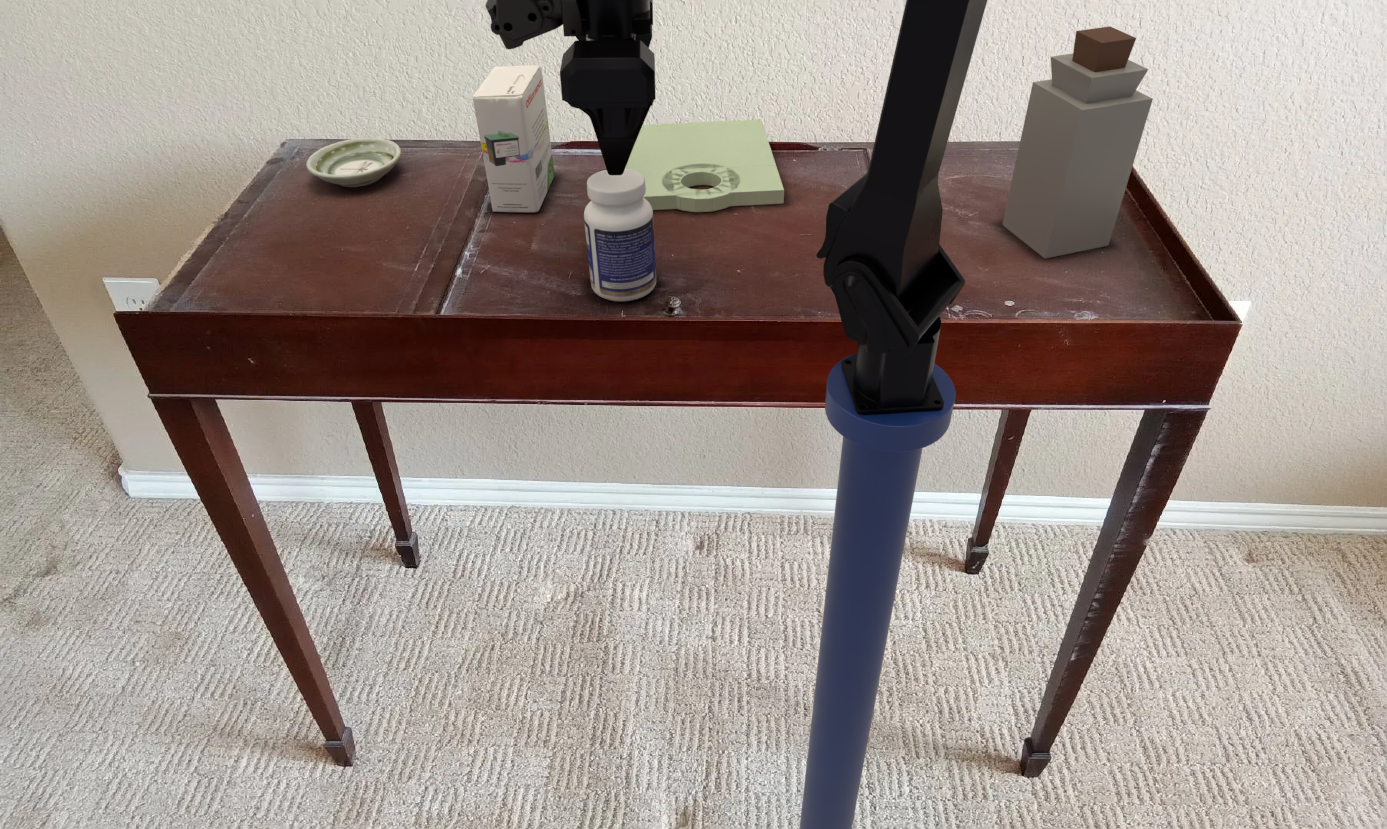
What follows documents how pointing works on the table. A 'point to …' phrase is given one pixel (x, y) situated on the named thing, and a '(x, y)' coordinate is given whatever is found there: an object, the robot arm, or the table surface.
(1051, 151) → the perfume bottle
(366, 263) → the table surface
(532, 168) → the ink box
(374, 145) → the saucer
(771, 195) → the plate
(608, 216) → the pill bottle
